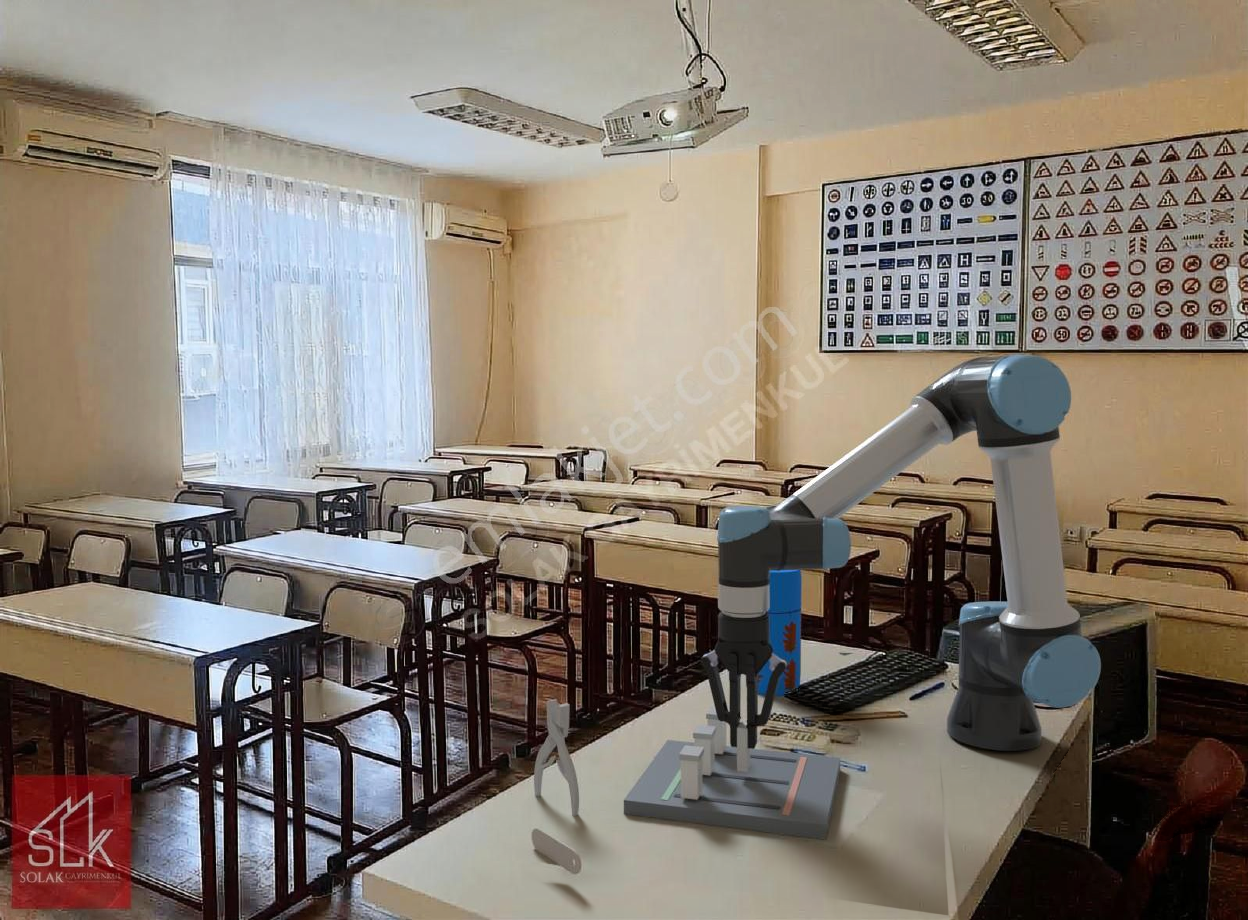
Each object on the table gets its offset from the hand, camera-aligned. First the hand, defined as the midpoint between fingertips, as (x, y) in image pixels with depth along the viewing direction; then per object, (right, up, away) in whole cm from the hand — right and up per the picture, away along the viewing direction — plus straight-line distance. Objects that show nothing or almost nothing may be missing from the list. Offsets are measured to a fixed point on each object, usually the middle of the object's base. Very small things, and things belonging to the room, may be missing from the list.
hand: (743, 767), depth 144 cm
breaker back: (-3, 0, +10) cm, 11 cm away
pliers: (-27, -4, -4) cm, 28 cm away
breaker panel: (-1, -4, 0) cm, 4 cm away
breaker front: (-8, -2, -7) cm, 11 cm away
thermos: (+12, -1, +49) cm, 50 cm away
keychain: (-26, -5, -21) cm, 34 cm away
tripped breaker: (-6, -1, +2) cm, 6 cm away
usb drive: (+34, +1, +73) cm, 81 cm away
